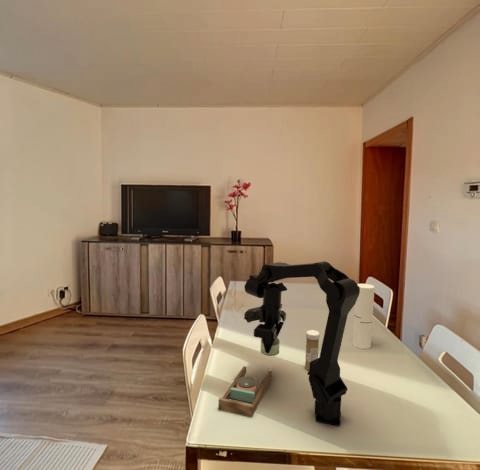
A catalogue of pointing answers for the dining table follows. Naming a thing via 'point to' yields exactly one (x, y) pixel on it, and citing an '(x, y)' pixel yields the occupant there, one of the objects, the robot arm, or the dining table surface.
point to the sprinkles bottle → (311, 347)
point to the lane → (239, 406)
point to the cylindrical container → (363, 317)
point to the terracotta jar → (247, 383)
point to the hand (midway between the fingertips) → (269, 348)
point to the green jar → (273, 350)
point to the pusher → (242, 394)
